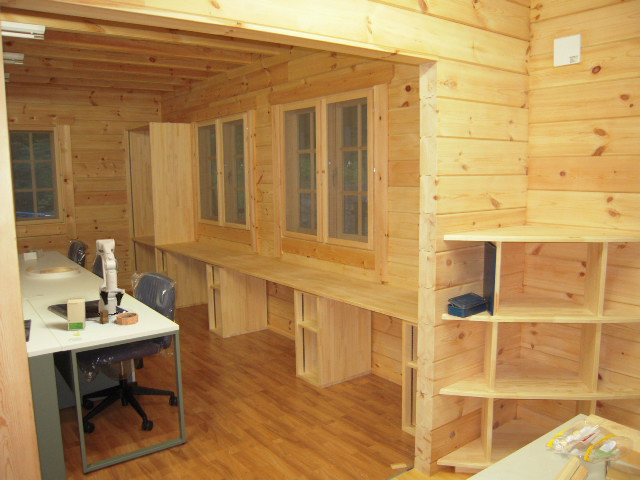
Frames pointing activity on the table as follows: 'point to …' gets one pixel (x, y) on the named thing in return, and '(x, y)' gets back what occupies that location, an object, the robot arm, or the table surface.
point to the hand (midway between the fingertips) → (112, 305)
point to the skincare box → (76, 314)
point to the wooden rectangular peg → (104, 317)
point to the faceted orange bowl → (127, 318)
